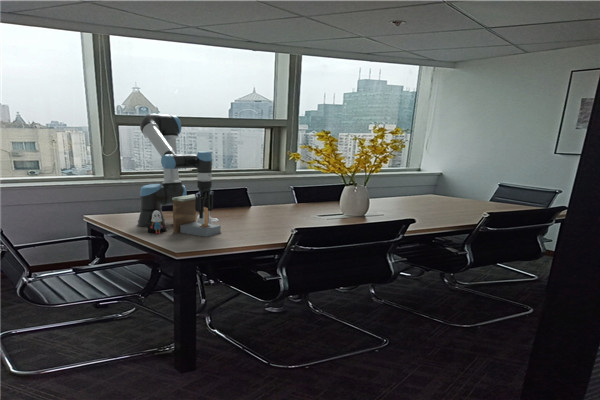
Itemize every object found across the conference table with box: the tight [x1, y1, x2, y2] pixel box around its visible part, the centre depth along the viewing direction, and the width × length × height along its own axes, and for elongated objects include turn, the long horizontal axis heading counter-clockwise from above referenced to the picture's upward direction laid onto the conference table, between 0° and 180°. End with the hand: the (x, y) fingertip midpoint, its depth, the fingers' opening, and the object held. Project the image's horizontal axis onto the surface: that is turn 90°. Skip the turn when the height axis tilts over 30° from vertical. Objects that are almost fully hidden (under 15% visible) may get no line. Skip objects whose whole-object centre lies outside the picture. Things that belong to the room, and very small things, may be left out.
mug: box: [196, 214, 219, 224], centre depth 256 cm, size 12×10×8 cm
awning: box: [172, 193, 197, 234], centre depth 244 cm, size 8×17×19 cm, turn 153°
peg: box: [202, 207, 208, 227], centre depth 239 cm, size 3×3×14 cm
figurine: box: [147, 210, 167, 235], centre depth 239 cm, size 10×11×12 cm
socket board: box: [179, 221, 221, 237], centre depth 241 cm, size 18×12×4 cm, turn 63°
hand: (204, 223), depth 239 cm, fingers open, 4 cm apart
